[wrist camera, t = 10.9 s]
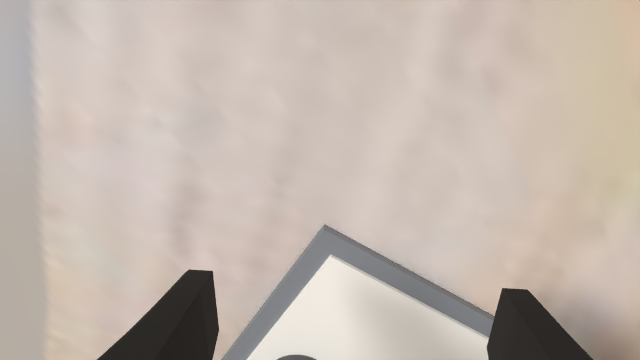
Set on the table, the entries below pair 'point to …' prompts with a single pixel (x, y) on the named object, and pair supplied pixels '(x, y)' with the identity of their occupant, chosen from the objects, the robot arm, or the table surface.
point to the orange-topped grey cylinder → (296, 357)
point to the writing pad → (361, 311)
